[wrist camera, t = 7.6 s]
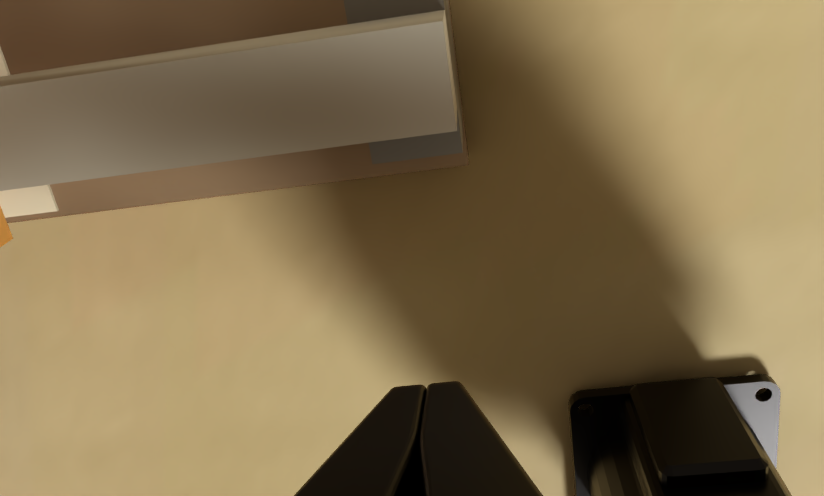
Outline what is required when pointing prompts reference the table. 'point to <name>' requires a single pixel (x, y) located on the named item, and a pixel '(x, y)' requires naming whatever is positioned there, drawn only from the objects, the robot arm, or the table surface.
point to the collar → (4, 230)
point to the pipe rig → (218, 98)
